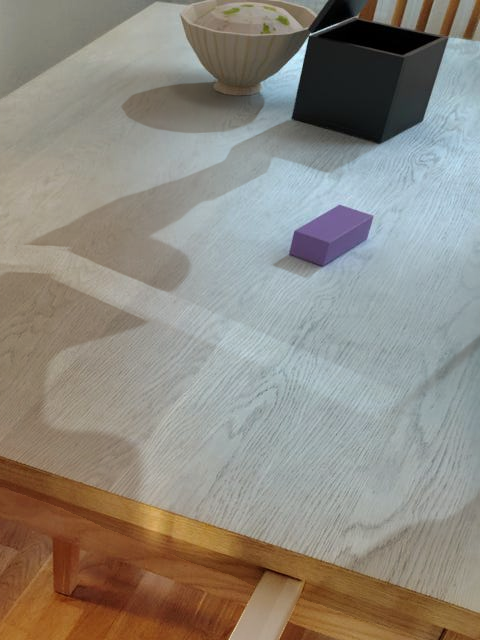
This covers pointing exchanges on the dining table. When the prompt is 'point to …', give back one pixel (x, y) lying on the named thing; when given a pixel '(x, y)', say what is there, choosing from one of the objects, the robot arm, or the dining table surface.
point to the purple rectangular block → (330, 235)
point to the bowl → (245, 39)
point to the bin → (368, 78)
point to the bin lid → (336, 13)
